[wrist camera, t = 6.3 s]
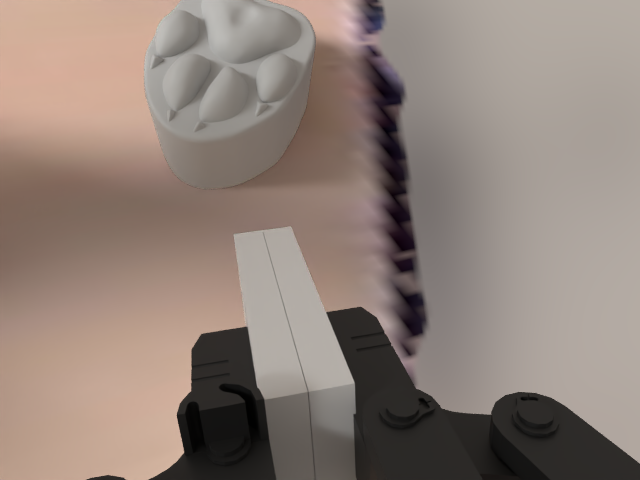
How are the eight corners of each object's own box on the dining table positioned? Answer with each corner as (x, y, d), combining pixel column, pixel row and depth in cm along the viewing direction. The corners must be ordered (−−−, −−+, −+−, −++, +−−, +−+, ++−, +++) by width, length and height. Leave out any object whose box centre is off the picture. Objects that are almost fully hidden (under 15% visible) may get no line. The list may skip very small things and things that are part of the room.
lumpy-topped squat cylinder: (321, 85, 46) (335, 8, 38) (252, 214, 41) (251, 157, 33) (209, 36, 47) (199, -51, 39) (127, 157, 42) (97, 88, 34)
